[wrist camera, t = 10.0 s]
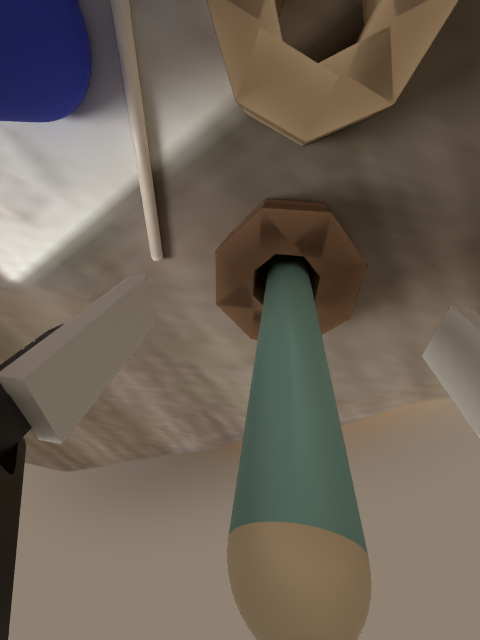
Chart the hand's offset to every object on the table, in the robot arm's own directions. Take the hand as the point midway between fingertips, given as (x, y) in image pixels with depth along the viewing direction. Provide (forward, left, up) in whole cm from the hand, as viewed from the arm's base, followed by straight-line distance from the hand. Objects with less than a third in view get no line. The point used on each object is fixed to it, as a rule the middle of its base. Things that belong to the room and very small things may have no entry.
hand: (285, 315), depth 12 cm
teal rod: (0, 0, -7) cm, 7 cm away
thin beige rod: (-9, +7, -7) cm, 13 cm away
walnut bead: (0, 0, -7) cm, 7 cm away
